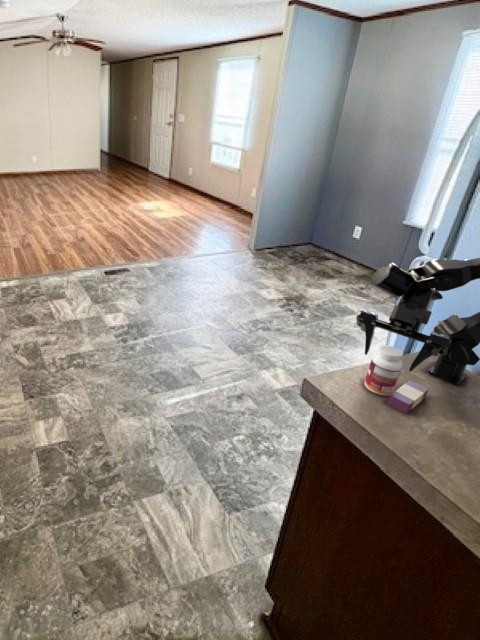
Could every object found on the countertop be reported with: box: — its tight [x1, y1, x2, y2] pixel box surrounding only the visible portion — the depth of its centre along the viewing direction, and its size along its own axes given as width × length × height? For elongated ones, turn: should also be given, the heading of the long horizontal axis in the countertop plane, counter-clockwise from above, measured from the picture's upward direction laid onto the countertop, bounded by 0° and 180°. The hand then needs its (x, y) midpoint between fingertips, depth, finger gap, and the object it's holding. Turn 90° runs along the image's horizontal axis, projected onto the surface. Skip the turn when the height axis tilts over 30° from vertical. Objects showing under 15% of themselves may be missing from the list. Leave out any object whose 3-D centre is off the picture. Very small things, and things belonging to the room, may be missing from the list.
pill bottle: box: [364, 344, 404, 397], centre depth 101 cm, size 6×6×11 cm
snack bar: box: [386, 380, 430, 414], centre depth 99 cm, size 10×4×2 cm, turn 123°
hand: (387, 362), depth 100 cm, fingers open, 9 cm apart
